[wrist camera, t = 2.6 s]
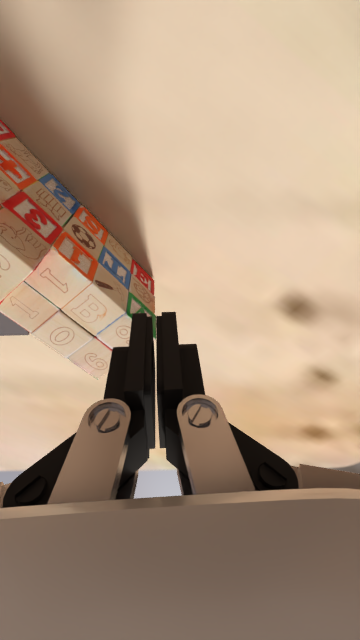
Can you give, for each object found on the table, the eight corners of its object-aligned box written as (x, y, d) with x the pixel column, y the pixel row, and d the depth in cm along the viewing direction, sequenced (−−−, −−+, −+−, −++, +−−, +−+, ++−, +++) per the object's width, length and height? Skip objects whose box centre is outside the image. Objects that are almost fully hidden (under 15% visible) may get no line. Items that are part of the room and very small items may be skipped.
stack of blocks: (156, 279, 30) (158, 371, 20) (110, 314, 32) (90, 414, 22) (-71, 43, 19) (-317, -17, 9) (-119, 119, 21) (-365, 137, 11)
